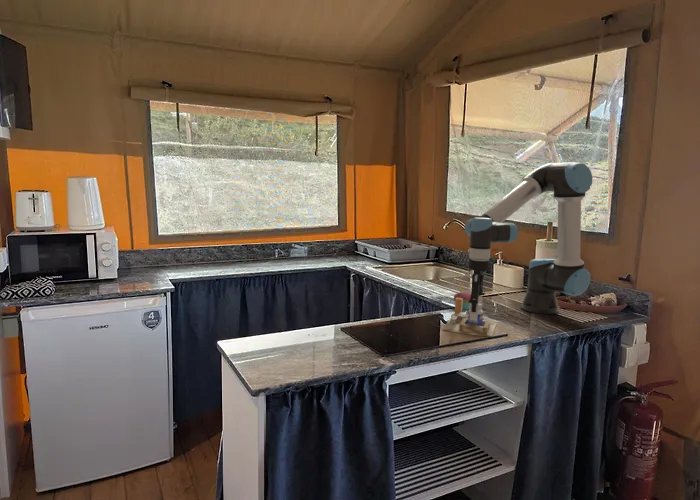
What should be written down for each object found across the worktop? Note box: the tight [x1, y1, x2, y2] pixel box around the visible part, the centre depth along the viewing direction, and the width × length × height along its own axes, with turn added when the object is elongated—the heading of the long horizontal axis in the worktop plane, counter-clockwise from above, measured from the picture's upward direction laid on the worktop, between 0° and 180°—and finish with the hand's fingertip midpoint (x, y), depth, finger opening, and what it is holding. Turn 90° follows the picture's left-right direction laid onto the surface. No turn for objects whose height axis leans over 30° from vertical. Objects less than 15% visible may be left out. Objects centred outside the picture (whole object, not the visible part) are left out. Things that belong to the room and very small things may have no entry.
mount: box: [442, 313, 497, 338], centre depth 186 cm, size 18×16×3 cm
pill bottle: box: [467, 303, 484, 326], centre depth 183 cm, size 5×5×10 cm
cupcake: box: [453, 282, 471, 311], centre depth 214 cm, size 9×8×12 cm
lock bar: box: [449, 298, 463, 324], centre depth 187 cm, size 2×14×6 cm, turn 159°
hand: (475, 316), depth 183 cm, fingers open, 11 cm apart
